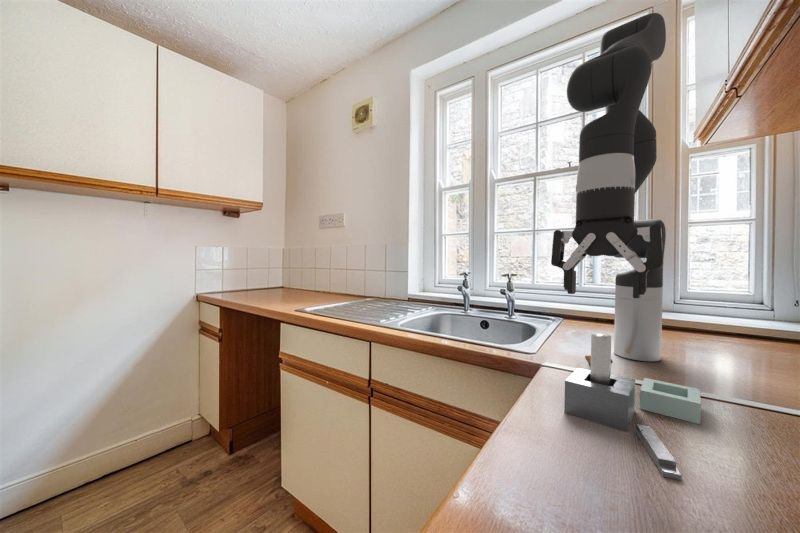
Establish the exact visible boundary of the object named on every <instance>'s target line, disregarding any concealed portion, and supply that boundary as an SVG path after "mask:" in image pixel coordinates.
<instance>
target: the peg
mask: <svg viewBox="0 0 800 533" xmlns="http://www.w3.org/2000/svg"><path fill="white" fill-rule="evenodd" d="M590 337H591V340H590V356H591V367H590V370H591V380H590V382H593V383H598V384H602V385H606V386H610V375H611V374H612V373H611V368H612V367H611V366H612V363H611V360H612V335H609V334H605V333H598V332H597V333H594V332H593V333H591V336H590Z"/></svg>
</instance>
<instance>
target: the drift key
mask: <svg viewBox="0 0 800 533" xmlns="http://www.w3.org/2000/svg"><path fill="white" fill-rule="evenodd" d="M635 433H636V435H637V437H638V439H639V440H640V442H641V443H642V445H643V446H644V448H645V450H646V451H647V453H648V454H649V456H650V458H651V460H652V461H653V463H654V464H655V466H656V468H657V469H658V472H660V474H661V476H662V477H664V478H668V479H673V480H677V481H682V478H683V477H682V476H683V475H682V473H681V472H680V471H679V469H678V467H677V461H676V460H675V458H674V457H673V455H672V454H671V452H669V450H668V448H667V447H666V445H664V443H663V442H662V440H661V439H660V438H659V436H658V435H657V434H656V432H655V430H654V429H653V428H652V427H651V426H649V425H644V424H639V423H638V424H636V425H635Z"/></svg>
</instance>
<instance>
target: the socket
mask: <svg viewBox="0 0 800 533" xmlns="http://www.w3.org/2000/svg"><path fill="white" fill-rule="evenodd" d="M590 380H591V369H588V368H587V369H586V368H583V367H577V368H575V370H574V371H573V372H572V373H571V374H570V375H569V376H568V377H567V378H566V379H564V405H563V406H564V407H563V408H564V410H563V411H564V412H563V413H564V414H568V415H571V416H575V417H578V418H581V419H585V420H588V421H590V422H591V421H592V422H594V423H597V424H601V425H604V426H608V427H611V428H614V429H618V430H620V431H624V432H629V428H630V425H631V423H632V420H633V417H634V414H635V411H636V410H635V408H636V406H635V404H636V399H635V398H636V379H634V378H631V377H630V378H629V377H627V376H626V377H625V376H621V375H616V374H612V373H611V375H610V386H606V385H602V384H598V383H593V382H590Z"/></svg>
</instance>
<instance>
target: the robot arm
mask: <svg viewBox="0 0 800 533" xmlns="http://www.w3.org/2000/svg"><path fill="white" fill-rule="evenodd" d="M666 30H667V29H666V22H665V19H664V16H663V15H662V14H660V13H659V12H652V13H648V14H644V15H642V16H640V17H637V18H635V19H633V20H631V21H628V22H625V23H623V24H621V25H619V26H617V27H613V28H611V29H610V30H608V31H606V32H605V33H604V34H603V35H602V36H601V39H600V43H599V55H597V56H595V57H593V58H590V59H588V60H586V61H585V62H582V63H581V64H579V65H578V66H577V67H575V69H573V71H572V73H571V75H570V77H569V78H568V82H567V86H566V98H567V101H568V103H569V105H570V107H571V108H572V109H573V110H575V111H577V112H579V113H580V112H581V113H588V112H593V111H597V110H600V109H603V108H604V109H605V114H603V115H601V116H600V117H598V118H595V119H594V120H591V121H590V122H588V123H586V124H585V125H584V126H583V127H582V129H581V130H580V133H579V138H578V139H579V141H578V142H579V144H578V145H579V146H578V152H579V153H578V169H577V174H576V184H575V192H576V194H575V195H576V198H575V227H574V228H573V230H560V229H556V230H555V231H554V232H553V236H552V249H551V260H550V262H551V266H553V267H557V268H559V269H562V270H563V288H564V290H565V291H567V295H568V294H569V295H574V294H576V292H577V270H575V268H576V267H577V266H578V264H580V263H581V261H583V260H584V259H585V258H586V256H587V255H588V256H589V257H601V256H607V257H614V258H617V259H618V258H619V259H621V258H622V259H625V260H626V261H627V262H628V263H629V264H630V265H631V266H632V268H633V269H630V270H627V271H624V272H620V273H617V274H616V276H615V280H614V281H615V291H614V293H615V294H614V295H615V296H614V332H613V333H614V335H613V336H614V338H613V353H614V354H615V355H616V356H619V357H622V358H625V359H628V360H634V361H640V362H659V361H661V359H662V338H663V337H662V334H663V332H662V330H663V290H664V289H663V288H664V260H665V258H664V256H665V249H666V238H667V237H666V235H667V234H666V233H667V232H666V231H667V230H666V225H665V223H664V221H663V220H661V219H658V218H654V219H653V218H651V219H636V220H635V205H636V204H635V203H636V202H635V201H636V200H635V198H636V193H637V192H638V190H639V189H640V188H641V186H642V185H643V184H644V182H645V180H646V179H647V178H648V176H649V174H650V173H651V172H652V170H653V168H654V167H655V165H656V162H657V155H658V154H657V150H658V148H657V130H656V128H655V125H654V124H653V123H652V122H651V120H650V119H649V118H648V117H647V116H646V115H645V114H644V113H643V112H642V111H641V110H640V106H641V104H642V101H643V99H644V96H645V93H646V90H647V87H648V85H649V80H650V78H651V74H652V68H653V64H654V63H655V62H656V61H658V60H659V59H660V58H661V57H662V55H663V53H664V52H665V47H666V43H667V42H666V41H667V32H666ZM571 238H572V239H573V240H574V241H575V242H576V244H577V247H576V248H575V249H574V251H573V252H571V254H570V256H569V257H568V259H567V260H564V259H565V256H564V255H565V245H566V244H567V245H568V243H569V242H570V240H571ZM643 259H646V260H645V262H644V261H643Z"/></svg>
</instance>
